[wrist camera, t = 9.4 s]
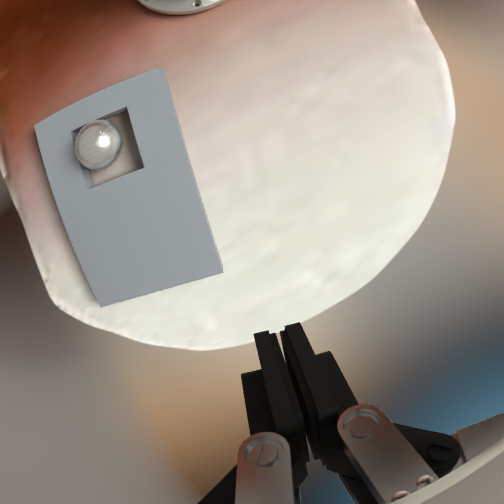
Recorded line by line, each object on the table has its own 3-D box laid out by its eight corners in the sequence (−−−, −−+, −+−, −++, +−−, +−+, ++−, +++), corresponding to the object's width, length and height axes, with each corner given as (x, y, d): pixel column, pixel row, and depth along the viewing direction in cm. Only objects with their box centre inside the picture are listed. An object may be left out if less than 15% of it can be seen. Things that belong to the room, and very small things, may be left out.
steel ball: (62, 145, 22) (85, 187, 25) (110, 120, 22) (131, 165, 26) (71, 126, 25) (90, 163, 29) (114, 105, 25) (130, 144, 29)
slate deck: (42, 125, 26) (34, 125, 24) (164, 71, 26) (161, 66, 24) (105, 299, 34) (100, 307, 32) (222, 265, 34) (223, 272, 32)
